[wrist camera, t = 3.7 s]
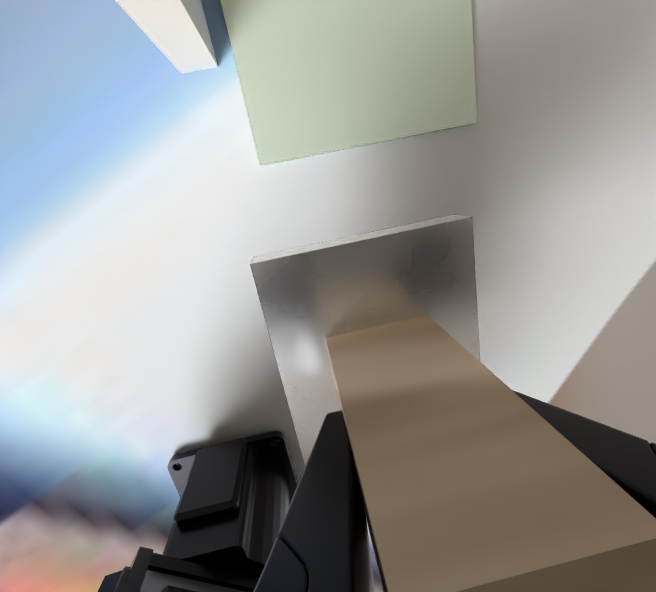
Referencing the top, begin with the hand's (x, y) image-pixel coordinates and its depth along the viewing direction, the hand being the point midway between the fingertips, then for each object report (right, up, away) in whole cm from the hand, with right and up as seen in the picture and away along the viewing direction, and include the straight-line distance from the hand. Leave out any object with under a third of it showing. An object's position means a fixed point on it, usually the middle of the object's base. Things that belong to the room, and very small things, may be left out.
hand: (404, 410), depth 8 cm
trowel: (0, +1, +3) cm, 3 cm away
